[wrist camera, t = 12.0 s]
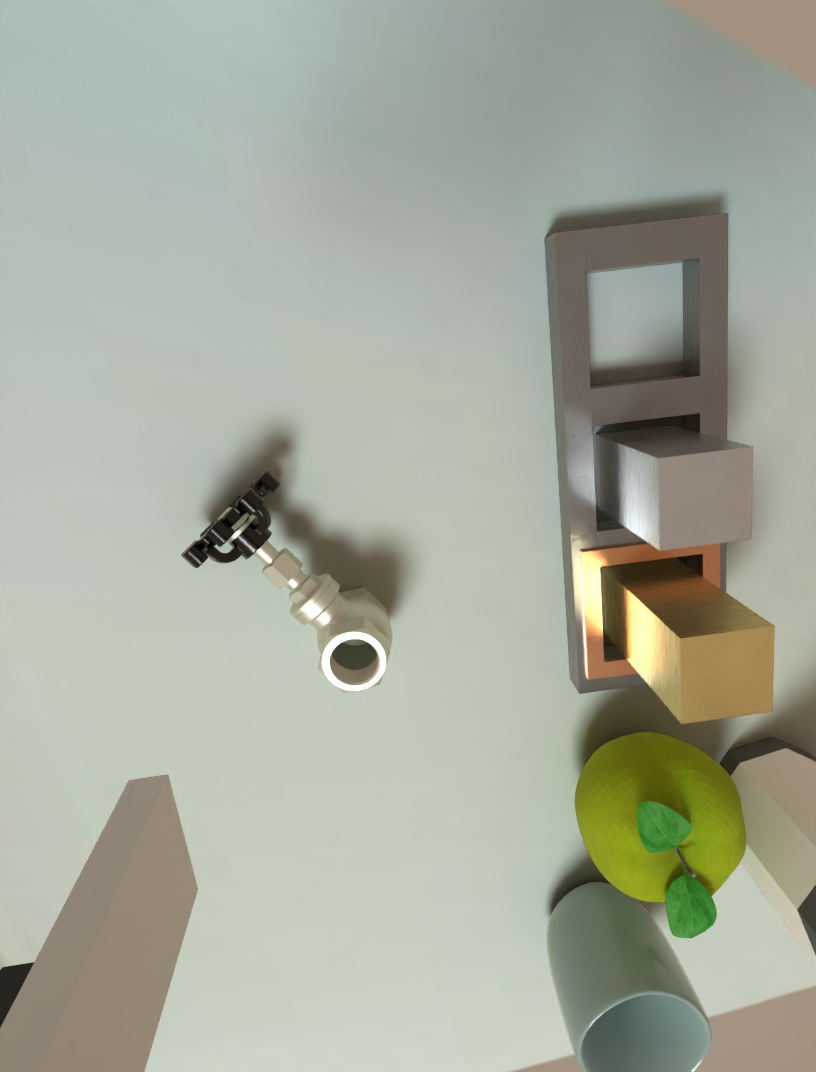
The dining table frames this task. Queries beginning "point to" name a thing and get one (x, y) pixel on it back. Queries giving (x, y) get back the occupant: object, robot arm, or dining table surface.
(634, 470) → the grey rectangular block
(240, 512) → the valve
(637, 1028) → the cup
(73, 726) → the dining table surface
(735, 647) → the brass block
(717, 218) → the grey compartment tray
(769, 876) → the wine bottle
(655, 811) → the fruit
